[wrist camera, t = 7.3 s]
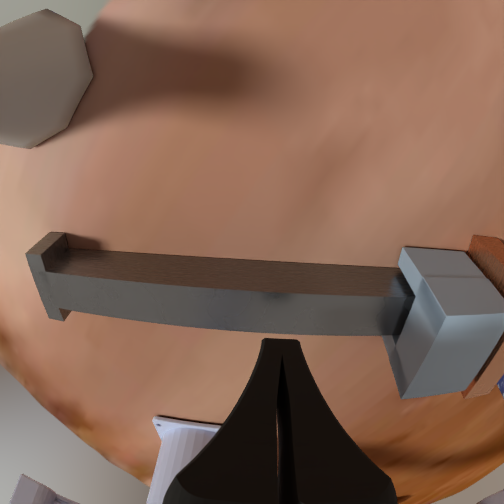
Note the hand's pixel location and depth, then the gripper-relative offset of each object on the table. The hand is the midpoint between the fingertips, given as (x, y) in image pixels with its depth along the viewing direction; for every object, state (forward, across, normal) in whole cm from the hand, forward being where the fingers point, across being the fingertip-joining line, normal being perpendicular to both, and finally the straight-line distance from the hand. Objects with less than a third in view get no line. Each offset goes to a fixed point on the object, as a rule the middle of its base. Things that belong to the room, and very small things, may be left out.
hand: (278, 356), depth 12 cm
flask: (+5, +12, -11) cm, 17 cm away
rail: (+5, 0, 0) cm, 5 cm away
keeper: (+5, -8, 0) cm, 9 cm away
